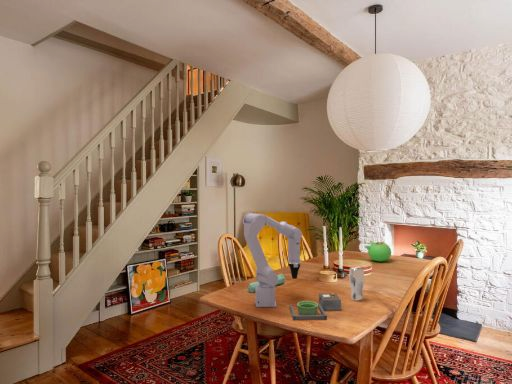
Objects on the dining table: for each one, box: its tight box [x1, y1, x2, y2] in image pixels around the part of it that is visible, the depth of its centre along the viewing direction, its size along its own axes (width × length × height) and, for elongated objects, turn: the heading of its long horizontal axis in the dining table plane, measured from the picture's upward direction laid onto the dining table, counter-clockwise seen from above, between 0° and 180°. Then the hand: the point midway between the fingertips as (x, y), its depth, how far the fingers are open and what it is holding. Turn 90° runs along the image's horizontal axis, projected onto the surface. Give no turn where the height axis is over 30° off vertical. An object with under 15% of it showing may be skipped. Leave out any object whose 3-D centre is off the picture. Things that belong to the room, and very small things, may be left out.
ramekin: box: [296, 300, 319, 315], centre depth 147 cm, size 9×9×4 cm
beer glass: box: [348, 266, 365, 302], centre depth 166 cm, size 7×7×15 cm
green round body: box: [364, 240, 392, 263], centre depth 250 cm, size 18×17×15 cm
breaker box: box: [318, 292, 342, 311], centre depth 156 cm, size 8×10×5 cm
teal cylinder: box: [247, 273, 286, 293], centre depth 187 cm, size 6×6×25 cm
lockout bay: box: [289, 303, 328, 321], centre depth 147 cm, size 14×14×2 cm
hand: (294, 278), depth 170 cm, fingers closed
